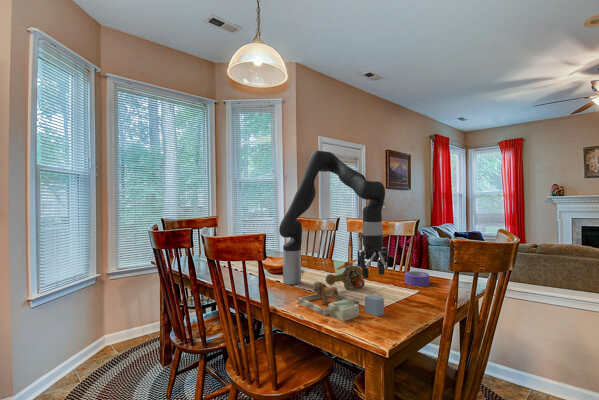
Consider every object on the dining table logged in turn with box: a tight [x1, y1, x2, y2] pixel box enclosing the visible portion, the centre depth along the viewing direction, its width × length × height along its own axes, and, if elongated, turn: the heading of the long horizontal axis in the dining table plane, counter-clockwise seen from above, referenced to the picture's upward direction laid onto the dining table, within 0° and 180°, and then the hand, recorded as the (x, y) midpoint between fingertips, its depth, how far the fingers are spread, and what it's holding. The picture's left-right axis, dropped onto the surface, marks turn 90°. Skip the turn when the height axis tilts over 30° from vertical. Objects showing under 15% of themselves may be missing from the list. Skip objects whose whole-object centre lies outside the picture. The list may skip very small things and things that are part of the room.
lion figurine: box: [311, 281, 342, 305], centre depth 124 cm, size 15×5×9 cm, turn 49°
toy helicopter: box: [325, 259, 365, 290], centre depth 145 cm, size 8×21×14 cm, turn 120°
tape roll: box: [404, 270, 430, 288], centre depth 153 cm, size 12×12×5 cm
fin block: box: [364, 293, 385, 317], centre depth 114 cm, size 6×4×6 cm, turn 33°
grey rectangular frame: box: [297, 293, 360, 322], centre depth 121 cm, size 26×18×4 cm
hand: (373, 276), depth 114 cm, fingers open, 8 cm apart
